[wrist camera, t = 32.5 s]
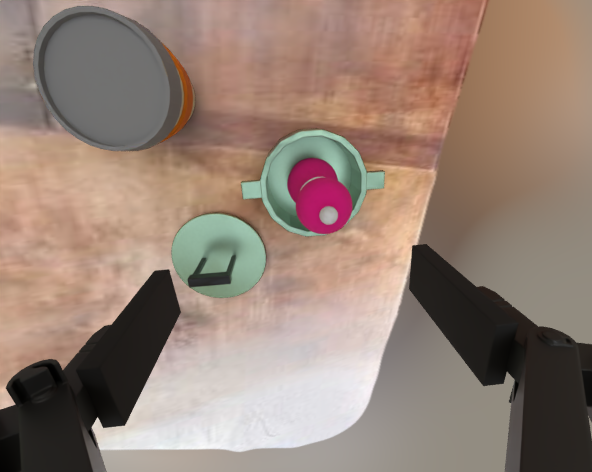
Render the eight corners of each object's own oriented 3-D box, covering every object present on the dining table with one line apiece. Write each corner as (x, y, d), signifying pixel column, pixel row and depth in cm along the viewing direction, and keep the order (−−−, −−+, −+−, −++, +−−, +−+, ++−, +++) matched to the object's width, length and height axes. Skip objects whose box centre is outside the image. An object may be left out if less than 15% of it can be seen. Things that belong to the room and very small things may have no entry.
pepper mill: (338, 191, 47) (377, 237, 29) (296, 207, 48) (307, 263, 29) (323, 147, 45) (355, 167, 26) (279, 165, 45) (279, 197, 27)
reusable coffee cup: (191, 157, 45) (151, 175, 31) (105, 117, 42) (19, 116, 28) (221, 73, 41) (191, 49, 27) (129, 23, 38) (43, -32, 24)
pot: (239, 133, 44) (233, 136, 38) (373, 123, 44) (388, 124, 38) (251, 226, 49) (248, 241, 43) (371, 216, 50) (383, 230, 44)
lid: (164, 215, 48) (139, 235, 39) (260, 207, 48) (257, 226, 40) (184, 297, 53) (166, 330, 45) (270, 290, 54) (268, 321, 45)
